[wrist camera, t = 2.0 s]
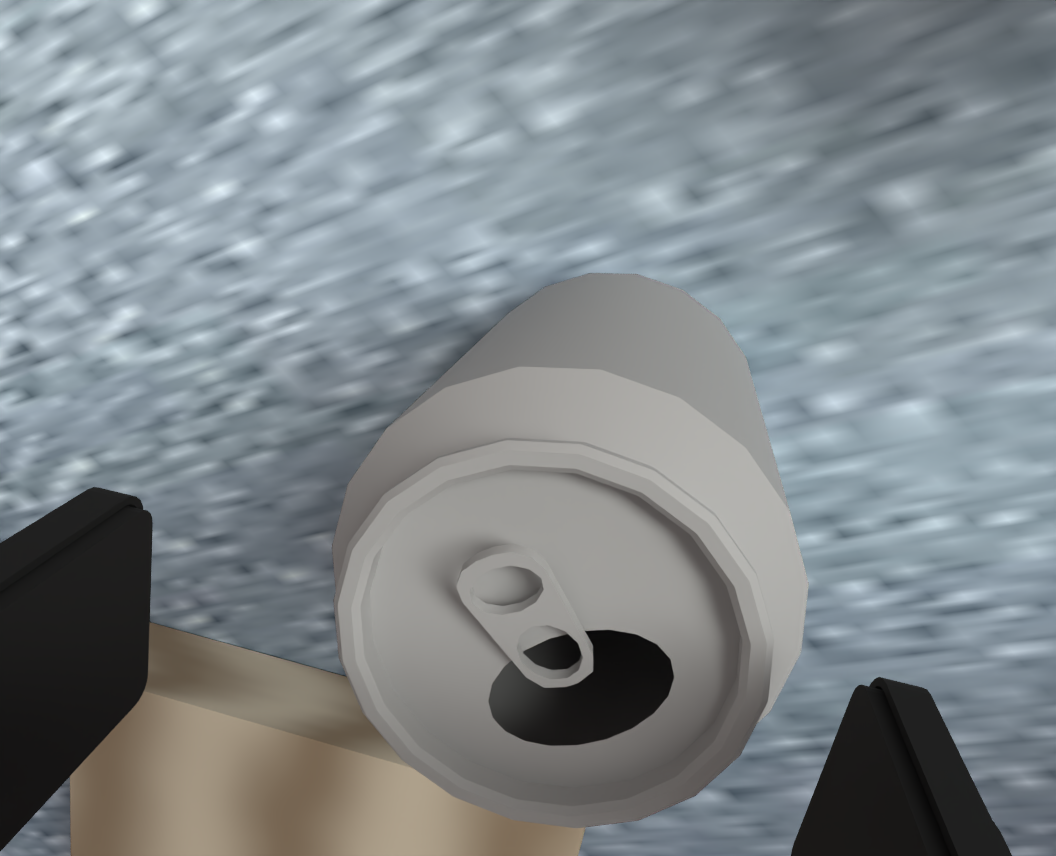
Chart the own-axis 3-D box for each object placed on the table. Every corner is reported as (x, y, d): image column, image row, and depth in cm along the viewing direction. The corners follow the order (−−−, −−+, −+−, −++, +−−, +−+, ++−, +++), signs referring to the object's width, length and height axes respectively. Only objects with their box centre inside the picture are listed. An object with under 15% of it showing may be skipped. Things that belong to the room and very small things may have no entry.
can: (552, 567, 25) (440, 921, 13) (430, 341, 23) (188, 526, 12) (799, 473, 22) (914, 803, 11) (683, 215, 21) (680, 297, 10)
